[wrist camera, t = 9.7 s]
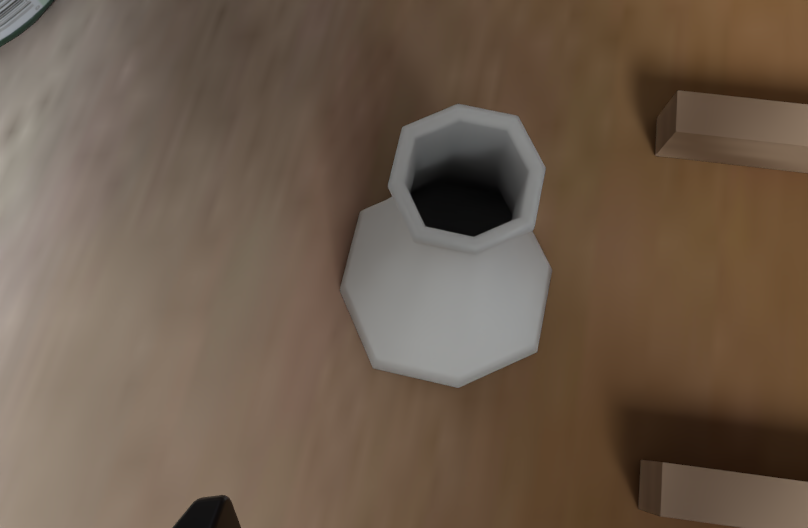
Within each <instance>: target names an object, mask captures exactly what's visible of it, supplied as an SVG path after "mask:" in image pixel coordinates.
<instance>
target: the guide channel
mask: <svg viewBox="0 0 808 528" xmlns="http://www.w3.org/2000/svg"><path fill="white" fill-rule="evenodd" d="M655 156H662V157H671V158H680V159H688V160H697V161H706V162H715V163H723V164H732V165H741V166H750V167H758V168H767V169H776V170H785V171H793V172H802V173H808V104H799V103H790V102H780V101H771V100H762V99H753V98H744V97H735V96H726V95H716V94H707V93H698V92H689V91H680V90H677V92H676V93H675V94H674V96H673V97H672V98H671V100H670V101H669V102H668V103H667V105H666V106H665V107H664V109H663V110H662V111H661V113H660V114H659V115H658V117H657V129H656V150H655ZM638 509H640V510H643V511H646V512H649V513H652V514H655V515H658V516H662V517H669V518H676V519H683V520H690V521H698V522H705V523H712V524H719V525H726V526H733V527H741V528H808V482H805V481H797V480H790V479H783V478H775V477H768V476H761V475H753V474H746V473H738V472H731V471H724V470H716V469H709V468H702V467H694V466H687V465H680V464H672V463H665V462H656V461H647V460H641V465H640V486H639V507H638Z"/></svg>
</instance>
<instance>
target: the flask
mask: <svg viewBox="0 0 808 528" xmlns="http://www.w3.org/2000/svg"><path fill="white" fill-rule="evenodd" d="M545 170H546V168H545V166H544V164H543V162H542V160H541V158H540V156H539V154H538V153H537V151H536V149H535V147H534V145H533V143H532V141H531V139H530V137H529V136H528V134H527V132H526V130H525V128H524V126H523V124H522V122H521V120H520V119H519V117H518V116H517V115H512V114H507V113H502V112H497V111H492V110H487V109H482V108H477V107H472V106H467V105H462V104H456V105H454V106H451V107H449V108H446V109H444V110H442V111H439V112H437V113H434V114H432V115H430V116H427V117H425V118H422V119H420V120H418V121H415V122H413V123H410V124H408V125H406V126H403V127H402V130H401V134H400V138H399V142H398V146H397V150H396V154H395V158H394V162H393V166H392V170H391V174H390V178H389V182H388V188H389V190H390V193H391V195H392V197H390V198H389V199H387V200H385V201H382V202H380V203H378V204H375V205H373V206H371V207H368V208H366V209H364V210H362V211H360V213H359V217H358V221H357V225H356V229H355V232H354V236H353V240H352V244H351V248H350V252H349V256H348V260H347V264H346V267H345V271H344V275H343V279H342V283H341V287H340V292H341V295H342V297H343V299H344V302H345V304H346V306H347V309H348V311H349V313H350V316H351V318H352V320H353V323H354V325H355V327H356V330H357V332H358V334H359V337H360V339H361V341H362V344H363V346H364V348H365V351H366V353H367V355H368V358H369V360H370V362H371V365H372V367H373V368H374V369H378V370H383V371H387V372H391V373H396V374H400V375H404V376H409V377H413V378H417V379H422V380H426V381H430V382H435V383H439V384H443V385H448V386H452V387H456V388H459V387H461V386H464V385H466V384H468V383H470V382H472V381H475V380H477V379H479V378H481V377H483V376H486V375H488V374H490V373H492V372H494V371H497V370H499V369H501V368H503V367H506V366H508V365H510V364H512V363H514V362H517V361H519V360H521V359H523V358H525V357H528V356H530V355H532V354H534V353H536V352H537V350H538V345H539V339H540V334H541V328H542V323H543V317H544V312H545V307H546V301H547V296H548V290H549V285H550V279H551V274H552V268H551V266H550V264H549V262H548V260H547V258H546V257H545V255H544V253H543V251H542V249H541V247H540V245H539V243H538V241H537V239H536V237H535V235H534V233H533V229H534V227H535V221H536V216H537V211H538V206H539V201H540V196H541V190H542V185H543V180H544V175H545Z"/></svg>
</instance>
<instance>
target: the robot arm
mask: <svg viewBox="0 0 808 528" xmlns="http://www.w3.org/2000/svg"><path fill="white" fill-rule="evenodd" d="M173 528H241V526H240V524H239V521H238V518H237V515H236V513H235V510H234V507H233V504H232V502H231V500H230V499H229V497H227V496H225V495H219V496H211V497H203V498H199V499H197V500H196V501H194V502H193V503H192V505H191V506H190V507H189V508H188V509H187V511H186V512H185V513H184V514H183V515H182V517H181V518H180V519H179V520H178V522H177V523H176V524H175V525H174V526H173Z"/></svg>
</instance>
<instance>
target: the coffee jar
mask: <svg viewBox="0 0 808 528" xmlns="http://www.w3.org/2000/svg"><path fill="white" fill-rule="evenodd" d="M53 1H54V0H0V47H1V46H2V45H4V44H6V43H7V42H9V41H11V40H12V39H14V38H15V37H17V36H18V35H20V34H21V33H22V32H24V31H25V30H26V29H27V28H29V27H30V26H31V25H33V24H34V23H35V22H36V21H37V20H38V19H39V18H40V16H41V15H42V14H43V13H44V12H45V11H46V9H47V8H48V7H49V6H50V5H51V4H52V2H53Z"/></svg>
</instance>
